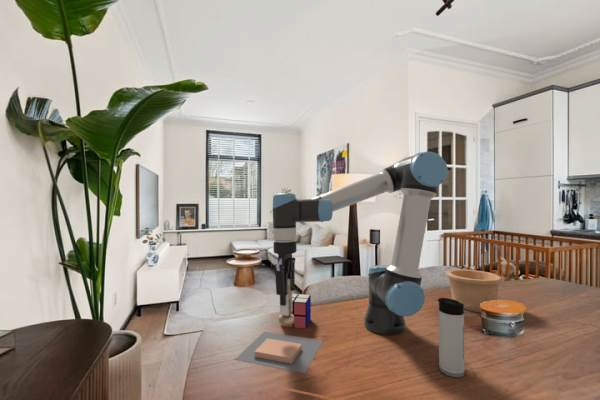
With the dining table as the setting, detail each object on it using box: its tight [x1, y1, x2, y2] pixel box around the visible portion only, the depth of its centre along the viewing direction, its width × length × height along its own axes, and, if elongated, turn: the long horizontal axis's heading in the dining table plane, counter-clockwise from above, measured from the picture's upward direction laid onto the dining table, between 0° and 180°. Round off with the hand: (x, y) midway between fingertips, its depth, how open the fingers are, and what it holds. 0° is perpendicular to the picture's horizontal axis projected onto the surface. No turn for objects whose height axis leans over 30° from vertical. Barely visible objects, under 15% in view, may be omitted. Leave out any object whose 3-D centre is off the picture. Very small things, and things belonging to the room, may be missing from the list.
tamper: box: [278, 278, 294, 327], centre depth 94 cm, size 5×5×14 cm
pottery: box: [445, 268, 503, 313], centre depth 133 cm, size 22×22×14 cm
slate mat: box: [234, 331, 324, 374], centre depth 92 cm, size 22×20×1 cm
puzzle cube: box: [280, 293, 312, 329], centre depth 114 cm, size 10×10×10 cm
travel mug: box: [437, 297, 466, 378], centre depth 81 cm, size 6×7×20 cm
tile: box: [255, 338, 302, 364], centre depth 90 cm, size 12×2×9 cm
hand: (286, 312), depth 94 cm, fingers closed on tamper, 3 cm apart
